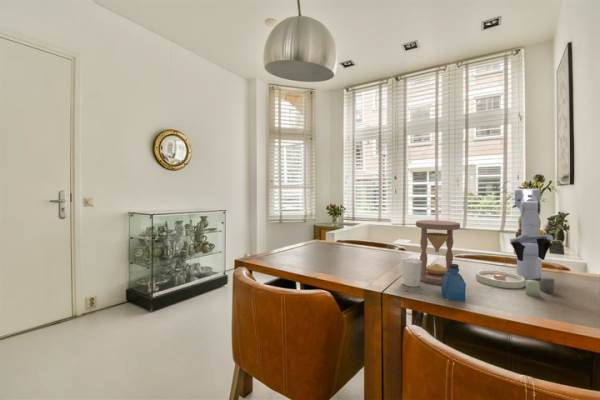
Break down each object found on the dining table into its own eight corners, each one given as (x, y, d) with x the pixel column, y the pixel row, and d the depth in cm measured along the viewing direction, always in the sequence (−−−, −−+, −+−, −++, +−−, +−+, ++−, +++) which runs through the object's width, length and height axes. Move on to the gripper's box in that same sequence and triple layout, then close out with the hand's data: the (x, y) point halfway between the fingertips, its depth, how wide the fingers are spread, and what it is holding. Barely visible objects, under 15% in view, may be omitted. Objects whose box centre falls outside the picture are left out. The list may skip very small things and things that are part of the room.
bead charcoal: (544, 289, 116) (544, 276, 115) (556, 292, 112) (556, 279, 112) (538, 290, 114) (538, 277, 114) (549, 293, 110) (550, 280, 110)
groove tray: (493, 273, 136) (493, 268, 136) (534, 285, 120) (534, 279, 120) (467, 277, 130) (467, 272, 130) (506, 290, 114) (506, 284, 114)
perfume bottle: (465, 301, 103) (466, 267, 103) (446, 299, 105) (447, 266, 104) (459, 294, 109) (460, 263, 109) (441, 293, 111) (442, 262, 110)
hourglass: (445, 272, 138) (446, 220, 137) (467, 284, 120) (469, 224, 119) (408, 272, 138) (409, 220, 137) (425, 285, 120) (426, 224, 119)
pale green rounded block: (529, 292, 112) (530, 279, 112) (541, 295, 108) (542, 282, 108) (523, 293, 111) (523, 280, 111) (534, 297, 107) (535, 283, 107)
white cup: (421, 282, 123) (422, 259, 123) (420, 288, 116) (421, 263, 116) (402, 280, 127) (402, 257, 126) (400, 285, 119) (400, 261, 119)
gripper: (505, 226, 124) (504, 257, 119) (544, 220, 112) (545, 254, 106) (516, 233, 126) (516, 263, 121) (555, 227, 114) (557, 261, 108)
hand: (530, 259), depth 114 cm, fingers open, 7 cm apart
